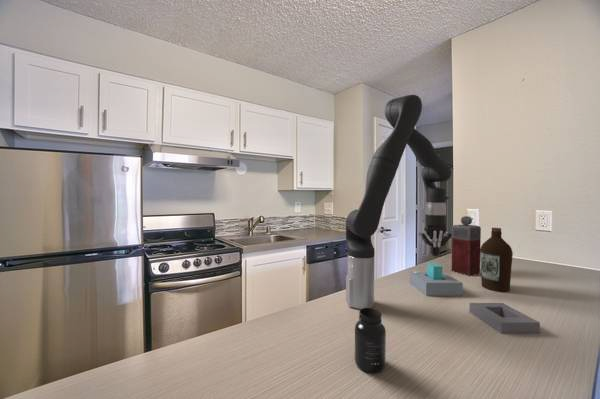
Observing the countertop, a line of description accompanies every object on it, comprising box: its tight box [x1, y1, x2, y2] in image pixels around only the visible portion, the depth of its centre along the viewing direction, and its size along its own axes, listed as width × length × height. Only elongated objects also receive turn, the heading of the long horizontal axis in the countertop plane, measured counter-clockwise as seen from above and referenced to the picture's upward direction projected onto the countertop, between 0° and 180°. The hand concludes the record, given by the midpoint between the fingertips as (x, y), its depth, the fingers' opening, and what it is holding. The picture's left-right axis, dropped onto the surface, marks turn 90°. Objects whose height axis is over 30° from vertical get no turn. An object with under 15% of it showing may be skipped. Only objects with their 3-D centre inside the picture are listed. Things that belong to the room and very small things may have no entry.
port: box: [409, 271, 464, 297], centre depth 105 cm, size 14×14×5 cm
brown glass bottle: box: [480, 227, 514, 293], centre depth 106 cm, size 11×11×25 cm
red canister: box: [450, 215, 482, 277], centre depth 128 cm, size 9×11×28 cm
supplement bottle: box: [354, 307, 387, 374], centre depth 58 cm, size 7×7×12 cm
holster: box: [468, 302, 541, 334], centre depth 78 cm, size 11×13×3 cm
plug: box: [426, 262, 443, 280], centre depth 105 cm, size 4×5×10 cm
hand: (435, 255), depth 105 cm, fingers closed
